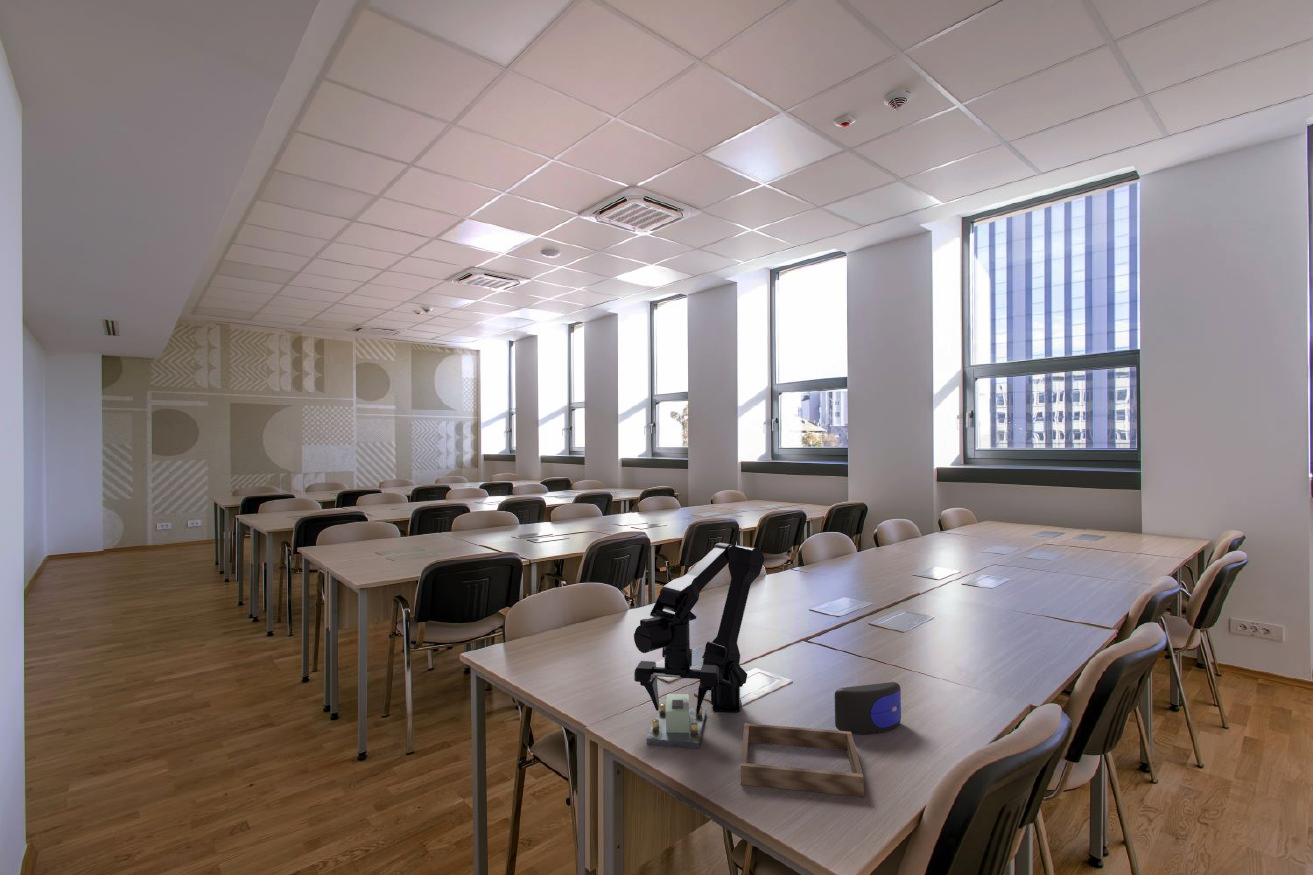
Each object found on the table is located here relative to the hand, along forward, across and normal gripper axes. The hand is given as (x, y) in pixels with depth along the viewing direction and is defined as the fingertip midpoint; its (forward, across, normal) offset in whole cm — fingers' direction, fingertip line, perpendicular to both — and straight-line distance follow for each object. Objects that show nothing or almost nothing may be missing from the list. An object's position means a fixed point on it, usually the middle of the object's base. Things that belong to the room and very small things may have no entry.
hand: (677, 711), depth 132 cm
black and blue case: (+4, -42, -8) cm, 43 cm away
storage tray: (+4, -26, +11) cm, 28 cm away
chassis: (+4, 0, 0) cm, 4 cm away
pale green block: (+2, 0, 0) cm, 2 cm away
